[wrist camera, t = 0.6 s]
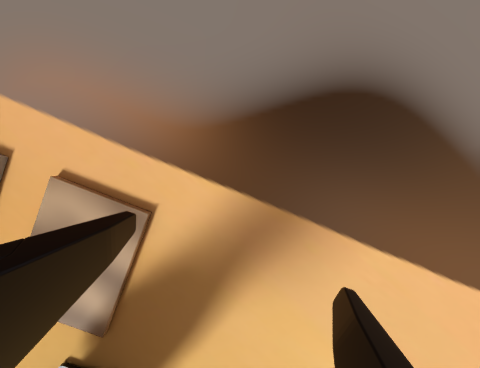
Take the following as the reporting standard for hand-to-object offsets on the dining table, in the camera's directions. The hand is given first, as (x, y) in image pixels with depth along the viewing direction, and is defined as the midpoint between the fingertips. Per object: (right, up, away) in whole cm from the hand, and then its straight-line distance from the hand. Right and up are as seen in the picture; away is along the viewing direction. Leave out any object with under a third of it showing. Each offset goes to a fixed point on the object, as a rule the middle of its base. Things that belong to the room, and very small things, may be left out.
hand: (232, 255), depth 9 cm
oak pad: (-16, -5, +14) cm, 22 cm away
